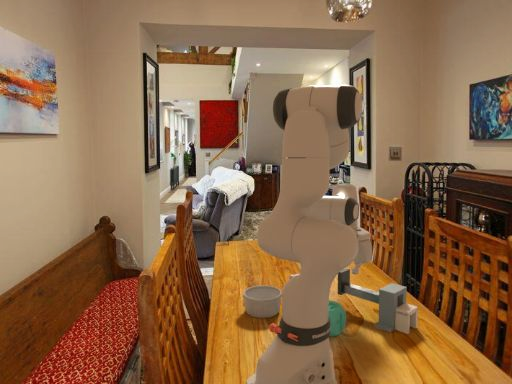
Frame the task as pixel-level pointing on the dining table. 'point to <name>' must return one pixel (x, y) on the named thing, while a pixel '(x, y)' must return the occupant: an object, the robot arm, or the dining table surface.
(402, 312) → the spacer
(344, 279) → the shaft
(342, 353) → the dining table surface
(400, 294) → the bearing block
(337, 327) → the decorative dice
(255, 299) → the ramekin
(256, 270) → the dining table surface
